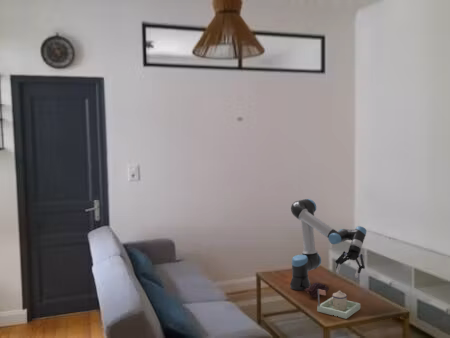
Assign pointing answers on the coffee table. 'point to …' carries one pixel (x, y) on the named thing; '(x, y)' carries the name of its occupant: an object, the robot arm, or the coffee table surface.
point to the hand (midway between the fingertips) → (346, 275)
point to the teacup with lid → (339, 301)
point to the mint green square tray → (328, 309)
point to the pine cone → (316, 289)
